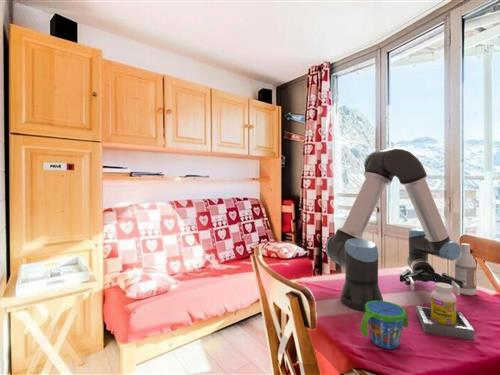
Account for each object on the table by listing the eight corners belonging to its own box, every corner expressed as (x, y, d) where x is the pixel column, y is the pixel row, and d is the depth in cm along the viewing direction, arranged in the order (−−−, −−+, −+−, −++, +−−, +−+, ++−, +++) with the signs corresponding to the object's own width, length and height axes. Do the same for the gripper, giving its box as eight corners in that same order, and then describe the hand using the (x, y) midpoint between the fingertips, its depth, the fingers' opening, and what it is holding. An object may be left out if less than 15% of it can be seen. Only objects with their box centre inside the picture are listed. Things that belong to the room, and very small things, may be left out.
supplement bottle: (429, 325, 89) (429, 285, 89) (432, 317, 94) (432, 279, 94) (455, 332, 84) (455, 290, 84) (457, 324, 89) (457, 284, 89)
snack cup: (394, 329, 88) (394, 297, 88) (422, 348, 78) (422, 312, 77) (350, 336, 84) (349, 303, 84) (373, 358, 74) (373, 320, 74)
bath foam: (474, 297, 110) (475, 246, 110) (453, 292, 115) (453, 244, 115) (477, 292, 115) (477, 243, 115) (456, 287, 120) (456, 241, 120)
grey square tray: (424, 332, 86) (424, 322, 86) (416, 314, 97) (416, 305, 97) (474, 340, 81) (474, 330, 81) (459, 320, 93) (459, 311, 93)
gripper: (458, 282, 113) (479, 304, 93) (389, 275, 122) (395, 294, 102) (458, 264, 113) (479, 282, 93) (389, 258, 122) (395, 274, 102)
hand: (435, 288), depth 98 cm, fingers open, 13 cm apart
